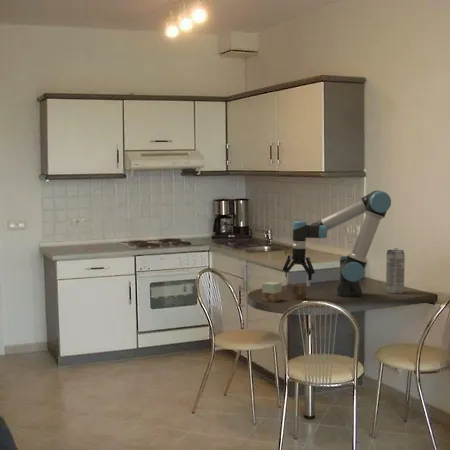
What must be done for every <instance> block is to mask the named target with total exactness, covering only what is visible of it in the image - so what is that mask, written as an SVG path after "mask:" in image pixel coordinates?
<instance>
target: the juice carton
mask: <svg viewBox="0 0 450 450" xmlns="http://www.w3.org/2000/svg"><path fill="white" fill-rule="evenodd" d="M404 251H405V250H403V249H399V248H398V247H393V248H392V249H387V250H386V260H385V261H386V267H385V268H386V270H385V277H386V278H385V286H386V287H385V288H386V291H387V294H395V295H396V294H398V295H399V294H400V295H402V294H403V293H404V289H405V263H406V262H405V258H406V257H405V252H404Z"/></svg>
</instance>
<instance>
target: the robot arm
mask: <svg viewBox="0 0 450 450" xmlns="http://www.w3.org/2000/svg"><path fill="white" fill-rule="evenodd" d="M391 205H392V199H391V196H390V195H389V194H388V193H387V192H385V191H382V190H373V191H371V192H369V193H368V194H366V195H364V196H363V197H361V198H360V199H359V201H357V202H355V203H353V204H351V205H348V206H347V207H344V208H342V209H340V210H338V211H336V212H334V213H332V214H329V215H328V216H326V217H324V218H321V219H320V220H317V221H316V222H312V223H311V224H307V222H306V221H304V220H295V221H294V222H293V223H292V251H291V252H292V255H291V254H290V255H287V259H286V261H285V263H284V266H283V267H282V271H284V272H285V276H284V277H285V278H286V284H287V285H288V284H291V272H290V271H291V270H292V269H293V267H294V266H295V265H301V266H302V267H303V269H304V270H305V271H306V273H307V274H306V287H311V281H312V275H313V274H315V273H316V271H315V270H314V267H313V265H312V262H311V257H310V256H308V257H306V247H307V242H306V241H307V239H326V238H327V236H328V231H329V230H332V229H334V228H336V227H337V226H338V227H339V226H340V225H342V224H344V223H346V222H348V221H351V220H353V219H355V218H357V217H359V216H361V215H364V214H365V216H364V220H363V222H362V225H361V226H360V227H361V228H360V229H359V232H358V235H357V237H356V239H355V242H354V245H353V248H352V250H351V252H350V253H348V254H347V255H346V256H345V255H343V256H340V257H339V283H338V286H337V289H336V295H337V296H340V297H345V298H346V297H348V298H351V297H353V298H354V297H361V296H363V289H362V285H361V282H360V280H362V278H363V277H364V274H365V269H366V268H365V267H366V265H367V263H368V261H367V259H366V258H367V256H368V253H369V251H370V249H371V248H370V247H371V245H372V243H373V240H374V238H375V234H376V232H377V230H378V227H379V224H380V221H381V220H383V219H384V218H385V216H386V214H387V212H388V211H389V209H390V208H391Z"/></svg>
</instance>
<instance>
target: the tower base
mask: <svg viewBox="0 0 450 450" xmlns="http://www.w3.org/2000/svg"><path fill="white" fill-rule="evenodd" d="M262 300H264V302H270V303H275V302H278V301H279V302H280V301H282V300H283V299H282V291H281V292H278V293H275V294H273V293H265V292H262V291H261V301H262Z"/></svg>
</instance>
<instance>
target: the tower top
mask: <svg viewBox="0 0 450 450" xmlns="http://www.w3.org/2000/svg"><path fill="white" fill-rule="evenodd" d="M261 286H262V287H261V293H262V292H265V293H273V294H275V293H278V292H282V282H277V281H276V282H275V281H267V282H262V284H261Z"/></svg>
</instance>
